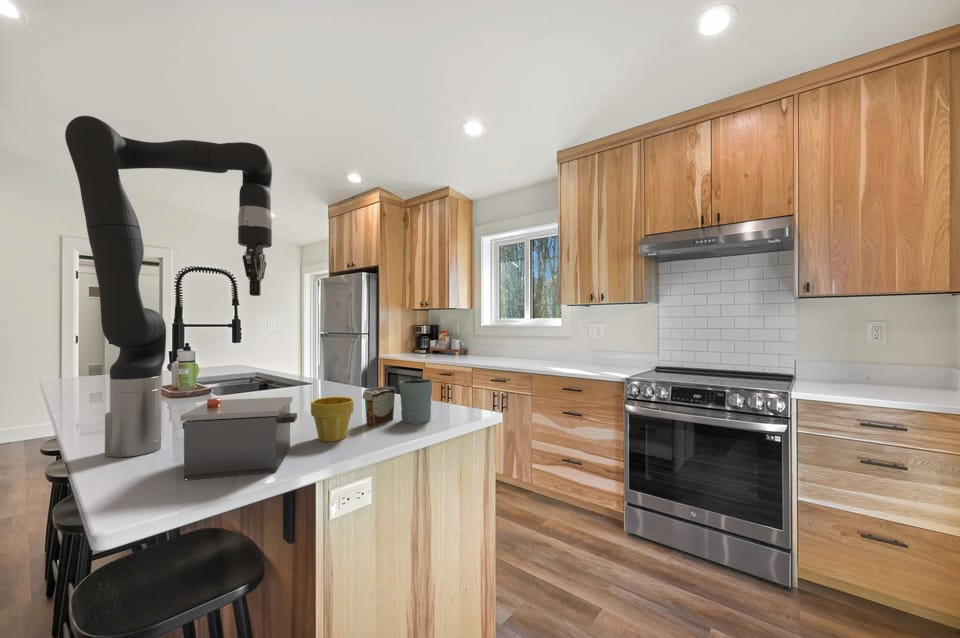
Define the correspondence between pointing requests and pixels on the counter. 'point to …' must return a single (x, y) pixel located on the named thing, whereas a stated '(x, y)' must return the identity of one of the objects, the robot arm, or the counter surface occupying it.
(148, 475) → the counter surface
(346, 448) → the counter surface
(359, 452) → the counter surface
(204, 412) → the storage bin lid
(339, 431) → the plant pot
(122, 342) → the robot arm
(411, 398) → the grey green cup
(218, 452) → the grey metal storage bin
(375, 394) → the food container
